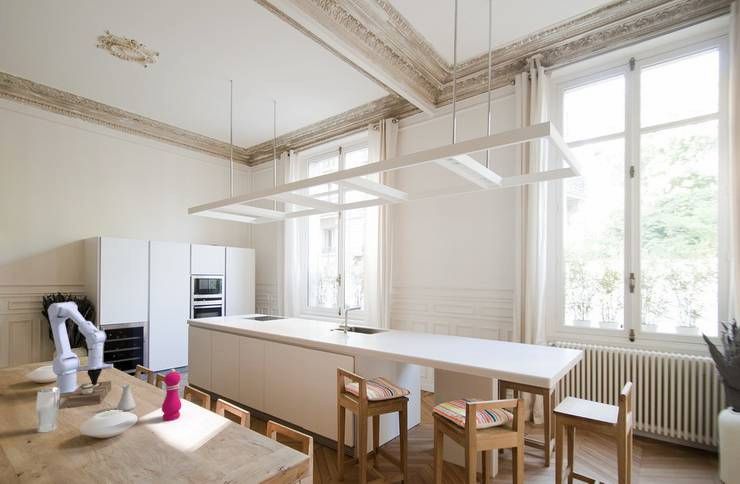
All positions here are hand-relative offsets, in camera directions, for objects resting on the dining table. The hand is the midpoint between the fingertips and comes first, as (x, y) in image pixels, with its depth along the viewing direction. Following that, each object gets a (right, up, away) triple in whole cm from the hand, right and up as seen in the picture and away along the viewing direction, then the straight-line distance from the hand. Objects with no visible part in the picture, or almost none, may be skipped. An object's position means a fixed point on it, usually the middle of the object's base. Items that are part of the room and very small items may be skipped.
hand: (94, 385), depth 185 cm
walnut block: (+2, -4, -6) cm, 7 cm away
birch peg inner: (0, -4, 0) cm, 4 cm away
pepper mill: (+53, -3, -29) cm, 60 cm away
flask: (+28, -4, -19) cm, 34 cm away
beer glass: (+10, -2, -39) cm, 41 cm away
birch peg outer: (+5, 0, -11) cm, 12 cm away
